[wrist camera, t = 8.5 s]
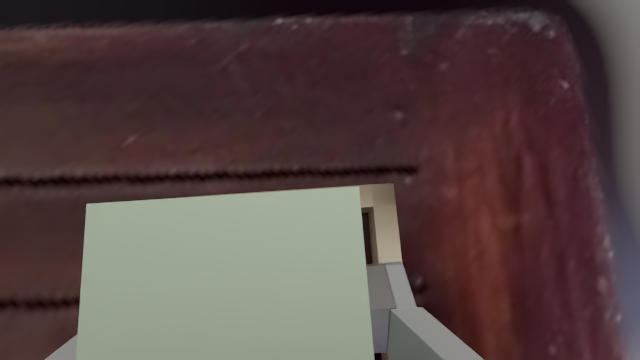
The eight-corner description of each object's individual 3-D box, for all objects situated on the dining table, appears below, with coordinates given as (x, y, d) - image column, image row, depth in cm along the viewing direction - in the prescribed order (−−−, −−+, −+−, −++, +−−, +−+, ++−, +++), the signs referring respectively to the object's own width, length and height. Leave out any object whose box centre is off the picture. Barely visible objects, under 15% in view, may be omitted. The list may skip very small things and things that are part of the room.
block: (346, 352, 16) (387, 500, 6) (225, 360, 16) (64, 523, 6) (337, 231, 17) (359, 186, 7) (224, 238, 17) (86, 203, 7)
